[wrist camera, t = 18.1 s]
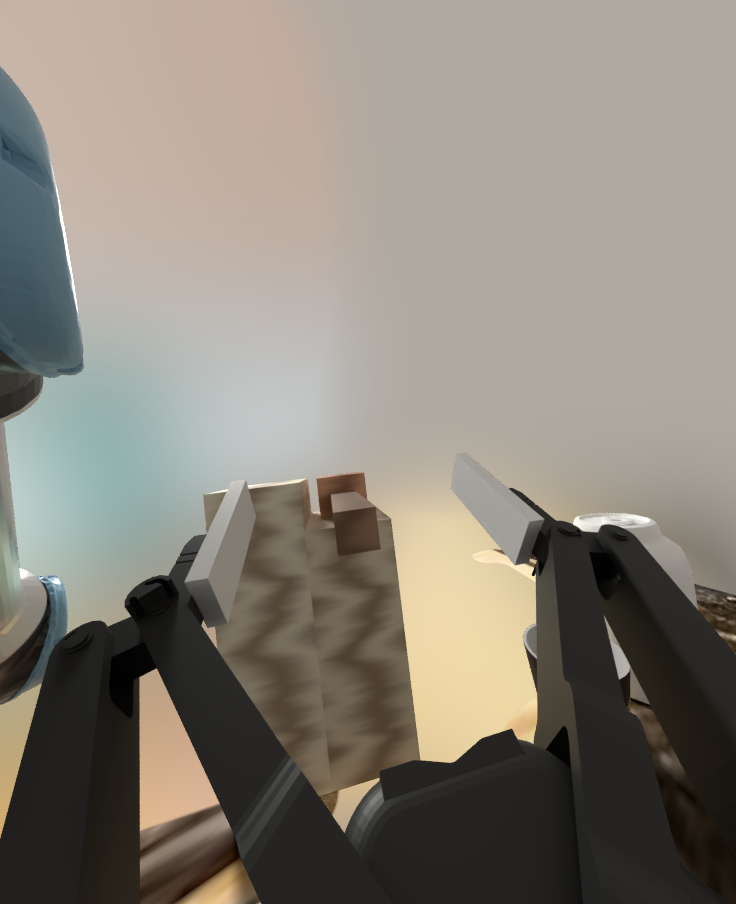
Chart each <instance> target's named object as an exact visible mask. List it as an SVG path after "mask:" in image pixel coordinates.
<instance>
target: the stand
mask: <svg viewBox="0 0 736 904" xmlns="http://www.w3.org/2000/svg"><path fill="white" fill-rule="evenodd" d="M248 489H249V492H250V496H251V500H252V503H253V507H254V511H255V514H256V519H255V523H254V527H253V530H252V534H251V538H250V542H249V546H248V549H247V553H246V557H245V561H244V565H243V568H242V572H241V576H240V580H239V584H238V587H237V591H236V595H235V599H234V603H233V607H232V610H231V614H230V618H229V622H228V624H225V625H220V626H215V629H216V639H217V650H218V651H219V653H220V654H221V656H222V657H223V659H224V660H225V662H226V663H227V665H228V666H229V668H230V669H231V671H232V672H233V674H234V675H235V677H236V678H237V679H238V681H239V682H240V684H241V685H242V687H243V688H244V690H245V691H246V693H247V694H248V696H249V697H250V699H251V700H252V702H253V703H254V705H255V706H256V708H257V709H258V710H259V712H260V713H261V715H262V716H263V718H264V719H265V721H266V722H267V724H268V725H269V727H270V728H271V730H272V731H273V733H274V734H275V736H276V737H277V739H278V740H279V741H280V743H281V744H282V746H283V747H284V749H285V750H286V752H287V753H288V755H289V756H290V758H291V759H292V760H293V761H294V762H295V763H296V764H297V766H298V767H299V768H300V770H301V771H302V772H303V774H304V775H305V776H306V778H307V779H308V781H309V782H310V784H311V785H312V787H313V788H314V790H315V791H316V793H317V794H318V795H319V796H322V795H325V794H329V793H332V792H335V791H338V790H341V789H344V788H348V787H350V786H354V785H357V784H360V783H364V782H367V781H370V780H373V779H376V778H380V771H381V770H384V769H387V768H390V767H394V766H397V765H400V764H403V763H406V762H409V761H412V760H420V755H419V747H418V738H417V730H416V722H415V714H414V705H413V697H412V689H411V681H410V673H409V666H408V665H409V664H408V657H407V648H406V640H405V632H404V623H403V615H402V606H401V599H400V590H399V582H398V573H397V565H396V557H395V549H394V540H393V532H392V524H391V518H389V517H388V516H387V515H386V514H384V513H383V512H382V511H380V510H379V509H378V508H376V514H377V523H378V531H379V539H380V548H381V549H379V550H374V551H368V552H362V553H356V554H350V555H345V556H339V557H338V552H337V544H336V536H335V528H334V520H333V517H330V518H323V519H321V514H320V511H318V512H311V505H310V496H309V486H308V478H306V479H298V480H290V481H281V482H273V483H266V484H258V485H249V486H248ZM226 492H227V490H223V491H218V492H213V493H209V494H204V495H203V496H204V508H205V519H206V530H207V533H208V531H209V528H210V526H211V524H212V522H213V520H214V518H215V516H216V514H217V511H218V509H219V507H220V505H221V503H222V501H223V499H224V497H225V494H226Z"/></svg>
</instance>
